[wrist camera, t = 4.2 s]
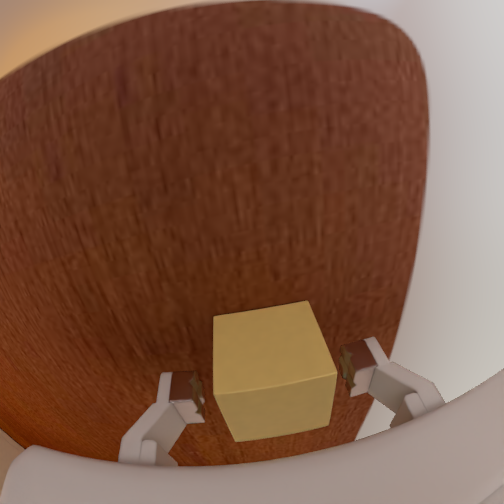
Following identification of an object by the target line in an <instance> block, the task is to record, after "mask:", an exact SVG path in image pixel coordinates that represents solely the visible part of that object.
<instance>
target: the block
mask: <svg viewBox="0 0 504 504" xmlns="http://www.w3.org/2000/svg"><path fill="white" fill-rule="evenodd" d="M337 373H338V372H337V370H336V367H335V365H334V362H333V360H332V357H331V355H330V352H329V350H328V347H327V345H326V343H325V340H324V338H323V335H322V333H321V330H320V328H319V326H318V323H317V321H316V318H315V316H314V314H313V311H312V309H311V306H310V304H309V302H308V301H302V302H297V303H291V304H286V305H280V306H275V307H269V308H263V309H257V310H251V311H245V312H238V313H232V314H225V315H218V316H214V317H213V395H214V397H215V399H216V402H217V404H218V406H219V408H220V410H221V413H222V415H223V417H224V419H225V421H226V423H227V426H228V428H229V430H230V432H231V434H232V436H233V438H234V440H235V442H240V441H249V440H257V439H264V438H270V437H276V436H282V435H288V434H293V433H298V432H303V431H307V430H312V429H316V428H321V427H325V426H328V425H329V421H330V416H331V410H332V405H333V399H334V393H335V386H336V380H337Z"/></svg>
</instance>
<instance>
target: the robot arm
mask: <svg viewBox="0 0 504 504" xmlns="http://www.w3.org/2000/svg"><path fill="white" fill-rule="evenodd" d="M340 353H341V356H340V357H339V370H340V373H341V376H342V378H344V379H345V380H346V384H345V386H346V389H347V391H348V393H349V396H350V397H352V396H356V395H359V394H363V393H366V392H368V393H369V394H370V395H371V396H373V397H374V398H375V399H377V400H378V401H379V402H381V403H382V404H383V405H385V406H386V407H388V408H389V409H390V410H392V411H393V412H394V413H396V415H395V416H394V418H393V420H392V422H391V424H390V427H391V428H390V429H388V430H385V431H382V432H380V433H377V434H374V435H371V436H368V437H365V438H362V439H359V440H356V441H353V442H349V443H346V444H342V445H339V446H335V447H331V448H328V449H324V450H319V451H315V452H311V453H306V454H302V455H297V456H291V457H286V458H280V459H274V460H267V461H260V462H252V463H243V464H232V465H218V466H178V463H177V462H176V461H175V460H174V459H173V458H172V457H171V456H170V455H169V454H168V452H169V451H170V449H171V448H172V446H173V445H174V443H175V442H176V440H177V439H178V437H179V436H180V434H181V433H182V431H183V429H184V428H185V426H186V424H192V423H204V422H205V408H204V406H203V404H204V402H205V390H204V386H203V383H202V381H200V380H199V374H198V372H197V371H196V370H195V371H179V372H162V374H161V375H160V381H159V387H158V394H157V401H156V403H153V404H152V405H151V406H150V407H149V408H148V409H147V411H146V412H145V413H144V414H143V415H142V416H141V417H140V418H139V419H138V421H137V422H136V423H135V424H134V425H133V426H132V427H131V428H130V429H129V430H128V432H127V433H126V434H125V435H124V436H123V437H122V441H121V447H120V453H119V459H118V462H112V461H105V460H99V459H93V458H87V457H82V456H77V455H73V454H68V453H64V452H60V451H56V450H52V449H48V448H45V447H42V446H38V445H32V446H30V447H28V448H27V449H25V450H24V451H23V452H22V453H21V454H19V455H18V456H17V457H16V458H15V459H14V460H13V461H12V463H11V464H10V466H9V469H8V471H7V474H6V478H5V481H4V484H3V488H2V492H1V497H0V504H504V369H503V370H501V371H500V372H498V373H497V374H495V375H494V376H492V377H491V378H489V379H488V380H486V381H485V382H483V383H481V384H480V385H478V386H476V387H475V388H473V389H471V390H470V391H468V392H466V393H464V394H463V395H461V396H459V397H457V398H455V399H454V400H452V401H450V402H448V403H445V401H444V400H443V398H442V397H441V395H440V393H439V391H438V390H437V388H436V386H435V385H434V383H433V382H431V381H429V380H427V379H425V378H423V377H421V376H419V375H417V374H415V373H413V372H411V371H410V370H407V369H406V368H404V367H402V366H400V365H398V364H396V363H394V362H389V360H388V358H387V357H386V355H385V353H384V352H383V350H382V348H381V346H380V345H379V343H378V341H377V340H376V338H375V337H370V338H366V339H363V340H358V341H355V342H351V343H347V344H344V345H341V347H340Z"/></svg>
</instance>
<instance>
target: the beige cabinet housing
mask: <svg viewBox="0 0 504 504" xmlns="http://www.w3.org/2000/svg"><path fill="white" fill-rule="evenodd" d="M24 450H25V449H24V448H23V447H21V446H20V445H19V444H18V443H17V442H15V441H14V440H13V439H12V438H11V437H9V436H8V435H7V434H6V433H5V432H4V431H3V430H1V429H0V496H1V492H2V488H3V484H4V481H5V478H6V474H7V471H8V469H9V466H10V464H11V463H12V461H13V460H14V459H15V458H16V457H17V456H18V455H19V454H21V453H22V452H23V451H24Z"/></svg>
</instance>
